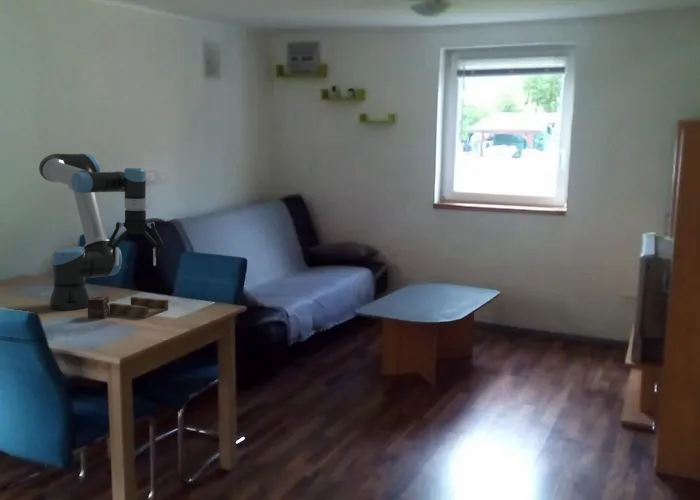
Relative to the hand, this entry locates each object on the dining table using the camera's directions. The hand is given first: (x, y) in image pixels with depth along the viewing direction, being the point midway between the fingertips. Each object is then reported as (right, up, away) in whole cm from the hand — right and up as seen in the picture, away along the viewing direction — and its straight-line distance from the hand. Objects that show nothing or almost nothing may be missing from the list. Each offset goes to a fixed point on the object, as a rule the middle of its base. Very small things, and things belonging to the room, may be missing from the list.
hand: (136, 265), depth 260 cm
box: (-13, -20, -3) cm, 24 cm away
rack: (0, -18, +6) cm, 19 cm away
